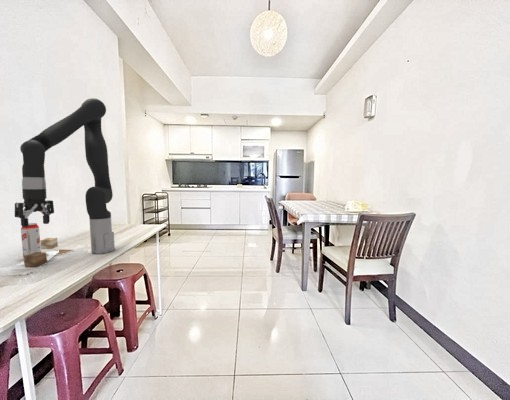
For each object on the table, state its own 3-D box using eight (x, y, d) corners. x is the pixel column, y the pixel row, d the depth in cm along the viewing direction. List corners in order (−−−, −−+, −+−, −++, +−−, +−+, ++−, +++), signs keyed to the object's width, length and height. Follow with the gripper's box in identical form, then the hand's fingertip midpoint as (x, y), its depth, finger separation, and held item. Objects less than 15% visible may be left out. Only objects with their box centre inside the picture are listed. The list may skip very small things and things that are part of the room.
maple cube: (57, 246, 131) (57, 237, 131) (51, 248, 127) (50, 239, 126) (47, 246, 131) (46, 237, 130) (41, 249, 126) (40, 240, 125)
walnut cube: (47, 263, 104) (46, 252, 104) (35, 267, 99) (34, 256, 99) (36, 263, 105) (35, 252, 104) (24, 267, 100) (23, 255, 99)
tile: (74, 250, 123) (74, 249, 123) (59, 255, 115) (59, 254, 115) (59, 250, 124) (59, 249, 124) (43, 255, 116) (43, 253, 115)
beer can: (40, 254, 116) (37, 222, 115) (42, 257, 112) (40, 223, 111) (22, 257, 111) (19, 224, 110) (24, 260, 108) (21, 225, 106)
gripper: (23, 188, 94) (25, 229, 95) (58, 187, 108) (59, 223, 109) (7, 188, 95) (9, 228, 96) (43, 187, 109) (45, 222, 110)
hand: (36, 225), depth 103 cm, fingers open, 8 cm apart
